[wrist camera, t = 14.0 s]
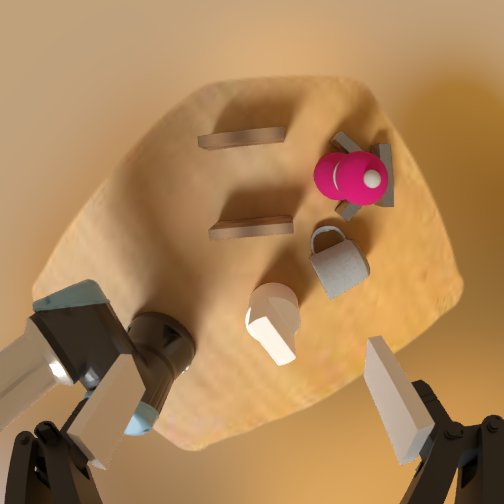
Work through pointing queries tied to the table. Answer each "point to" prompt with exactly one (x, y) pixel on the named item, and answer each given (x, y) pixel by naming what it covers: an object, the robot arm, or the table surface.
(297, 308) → the base with upright slab
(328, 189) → the pepper mill
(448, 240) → the table surface
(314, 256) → the ceramic mug
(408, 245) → the table surface
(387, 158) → the letter k block
